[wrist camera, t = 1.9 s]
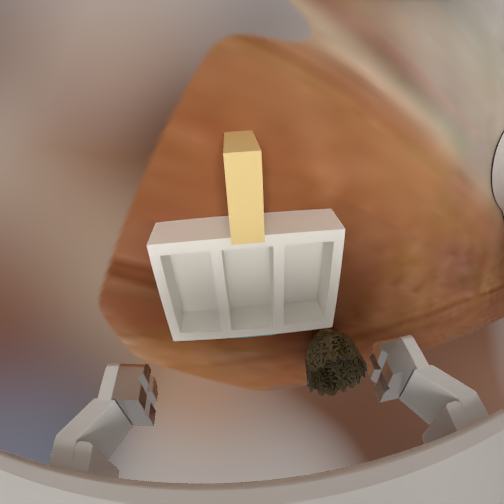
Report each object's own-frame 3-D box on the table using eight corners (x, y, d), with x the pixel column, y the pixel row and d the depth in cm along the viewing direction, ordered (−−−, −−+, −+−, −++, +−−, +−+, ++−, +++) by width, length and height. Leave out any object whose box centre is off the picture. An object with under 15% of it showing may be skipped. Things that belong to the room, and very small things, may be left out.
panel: (252, 130, 27) (261, 150, 20) (255, 200, 31) (264, 242, 24) (224, 132, 27) (223, 153, 20) (230, 203, 31) (231, 244, 24)
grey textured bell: (359, 327, 41) (378, 371, 35) (320, 356, 44) (333, 401, 37) (326, 304, 39) (344, 352, 32) (285, 337, 41) (295, 386, 34)
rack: (331, 208, 32) (345, 228, 28) (322, 304, 38) (331, 330, 35) (155, 222, 31) (146, 245, 27) (178, 317, 38) (174, 344, 34)
